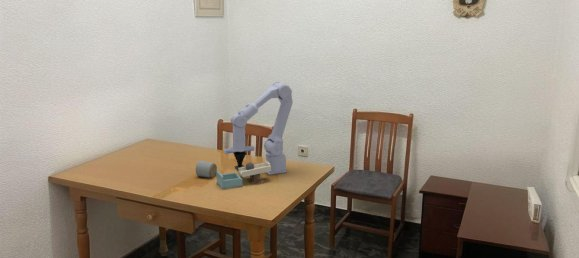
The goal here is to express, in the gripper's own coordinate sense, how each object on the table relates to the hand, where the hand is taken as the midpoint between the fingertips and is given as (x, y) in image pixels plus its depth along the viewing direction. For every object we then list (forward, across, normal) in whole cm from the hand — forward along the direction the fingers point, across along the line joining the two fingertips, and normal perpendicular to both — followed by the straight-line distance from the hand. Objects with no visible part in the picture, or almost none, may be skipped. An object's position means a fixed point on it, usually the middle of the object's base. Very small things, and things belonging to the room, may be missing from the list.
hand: (239, 166), depth 237 cm
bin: (+5, -8, -8) cm, 13 cm away
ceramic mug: (+6, -14, +8) cm, 17 cm away
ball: (-2, +2, -8) cm, 9 cm away
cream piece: (+1, +5, -5) cm, 7 cm away
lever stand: (+5, +5, -8) cm, 11 cm away
